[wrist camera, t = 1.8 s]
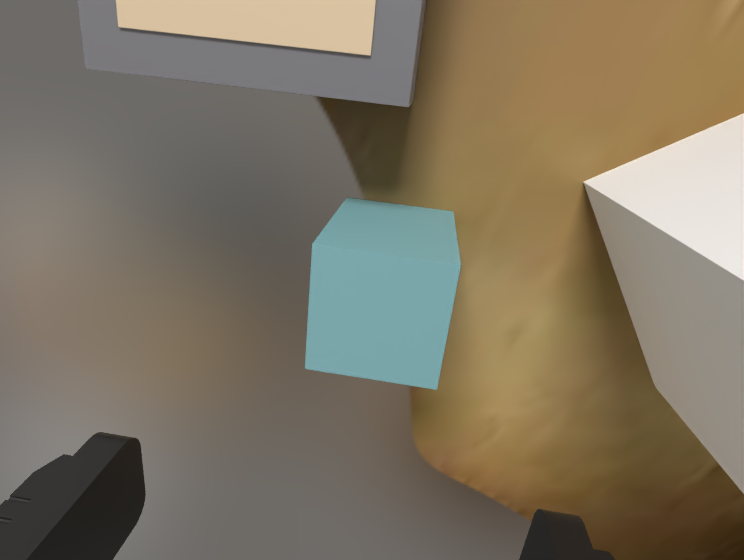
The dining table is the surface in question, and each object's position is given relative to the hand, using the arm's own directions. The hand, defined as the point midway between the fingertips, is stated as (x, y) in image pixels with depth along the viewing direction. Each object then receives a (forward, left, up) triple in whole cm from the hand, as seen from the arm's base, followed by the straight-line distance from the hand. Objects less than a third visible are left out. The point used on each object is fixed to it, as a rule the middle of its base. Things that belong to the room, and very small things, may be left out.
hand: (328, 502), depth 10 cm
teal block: (0, 0, -15) cm, 15 cm away
